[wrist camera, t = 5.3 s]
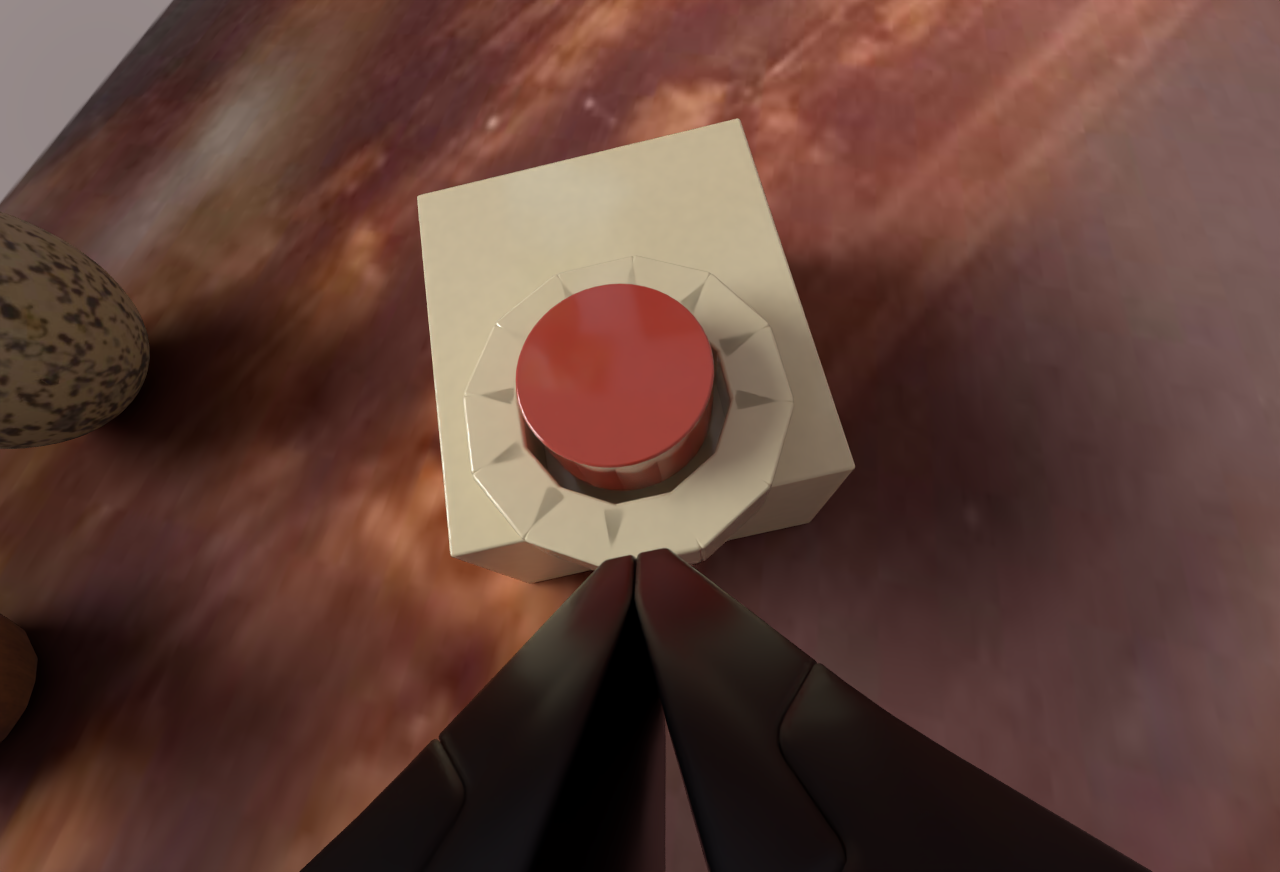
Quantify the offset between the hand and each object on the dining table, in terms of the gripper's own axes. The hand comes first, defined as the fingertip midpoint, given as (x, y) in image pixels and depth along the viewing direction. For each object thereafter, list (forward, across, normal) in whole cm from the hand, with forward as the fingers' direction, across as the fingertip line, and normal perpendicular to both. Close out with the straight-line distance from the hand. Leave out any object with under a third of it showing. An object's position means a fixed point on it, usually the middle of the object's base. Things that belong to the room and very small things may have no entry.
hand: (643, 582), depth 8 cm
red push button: (+5, 0, 0) cm, 5 cm away
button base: (+13, 0, -3) cm, 13 cm away
